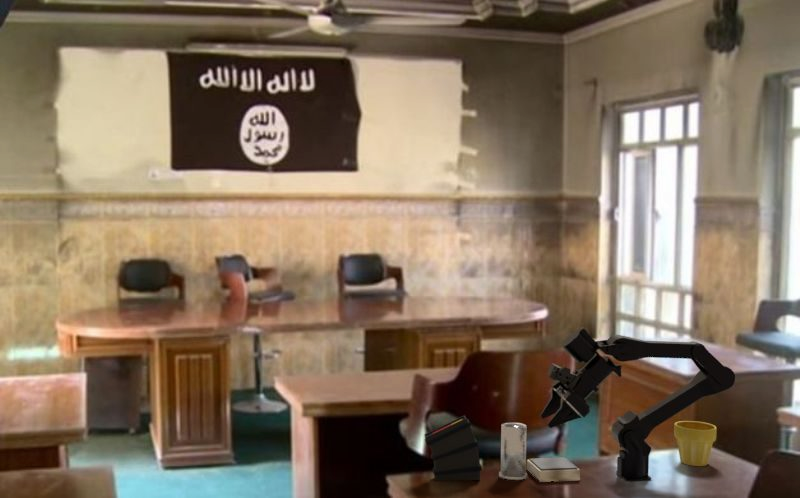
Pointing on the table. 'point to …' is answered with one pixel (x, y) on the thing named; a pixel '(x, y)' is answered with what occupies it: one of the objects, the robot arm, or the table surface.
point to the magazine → (454, 451)
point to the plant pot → (694, 441)
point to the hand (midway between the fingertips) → (545, 421)
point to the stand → (553, 469)
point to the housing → (513, 451)
